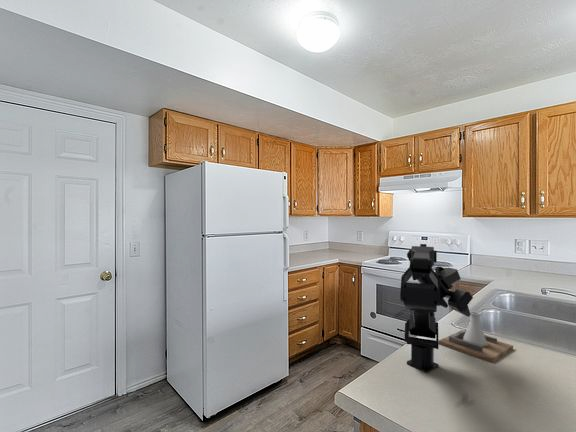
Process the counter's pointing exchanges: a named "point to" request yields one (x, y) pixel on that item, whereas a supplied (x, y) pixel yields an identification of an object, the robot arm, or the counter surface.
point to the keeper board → (477, 347)
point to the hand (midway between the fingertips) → (457, 311)
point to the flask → (475, 331)
